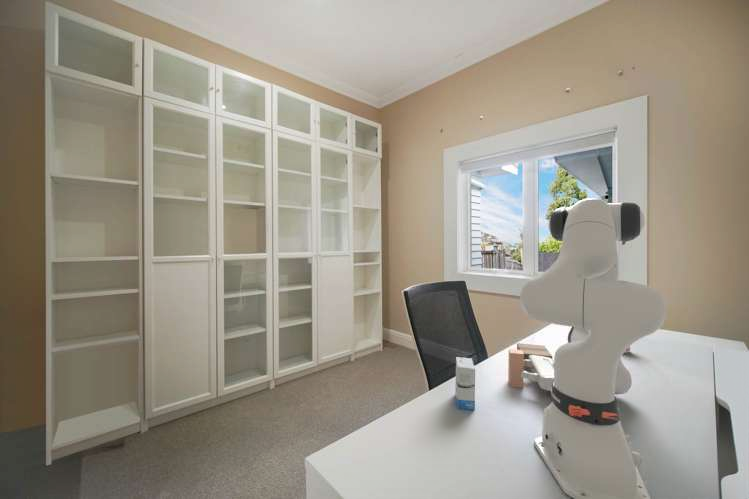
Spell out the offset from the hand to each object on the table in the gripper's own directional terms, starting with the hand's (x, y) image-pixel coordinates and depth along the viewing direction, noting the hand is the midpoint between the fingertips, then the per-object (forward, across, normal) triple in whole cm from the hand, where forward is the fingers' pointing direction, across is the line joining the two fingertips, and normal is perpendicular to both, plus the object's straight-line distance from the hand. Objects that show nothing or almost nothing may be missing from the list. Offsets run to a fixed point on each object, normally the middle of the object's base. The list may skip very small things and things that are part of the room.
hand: (518, 368), depth 100 cm
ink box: (+17, +17, +6) cm, 25 cm away
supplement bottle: (-48, -50, +6) cm, 70 cm away
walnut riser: (-8, -20, +5) cm, 22 cm away
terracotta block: (+1, 0, +6) cm, 6 cm away
